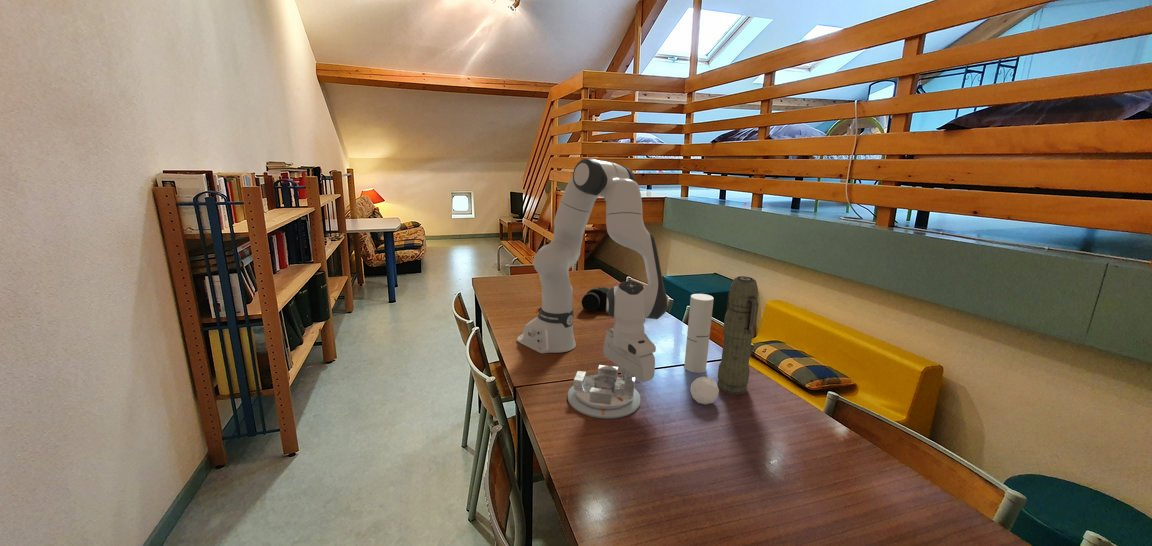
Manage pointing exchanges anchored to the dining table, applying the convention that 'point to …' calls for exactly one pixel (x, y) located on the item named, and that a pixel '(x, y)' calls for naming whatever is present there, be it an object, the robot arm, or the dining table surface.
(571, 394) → the cap plate
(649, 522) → the dining table surface
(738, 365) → the thermos
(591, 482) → the dining table surface
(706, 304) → the cylindrical container
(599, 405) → the tabbed round base
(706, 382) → the geometric ball
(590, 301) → the binoculars
